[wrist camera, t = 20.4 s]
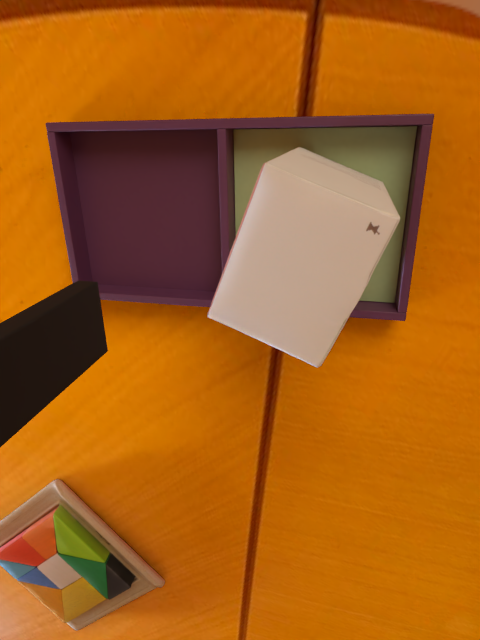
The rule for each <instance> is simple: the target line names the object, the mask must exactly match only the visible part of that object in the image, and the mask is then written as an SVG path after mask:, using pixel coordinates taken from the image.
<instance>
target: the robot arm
mask: <svg viewBox="0 0 480 640" xmlns="http://www.w3.org/2000/svg"><path fill="white" fill-rule="evenodd" d="M107 351H108V350H107V343H106V336H105V330H104V323H103V316H102V309H101V302H100V295H99V288H98V282H93V281H77V282H75V283H73V284H71V285H69V286H67V287H66V288H64V289H62V290H60V291H58V292H56V293H55V294H53V295H51V296H49V297H47V298H45V299H44V300H42V301H40V302H38V303H36V304H35V305H33V306H31V307H29V308H27V309H25V310H24V311H22V312H20V313H18V314H16V315H14V316H13V317H11V318H9V319H7V320H5V321H3V322H2V323H0V447H1V446H2V445H3V444H4V443H6V442H7V441H8V440H9V439H10V438H11V437H12V436H13V435H14V434H16V433H17V432H18V431H19V430H20V429H21V428H22V427H23V426H24V425H26V424H27V423H28V422H29V421H30V420H31V419H32V418H33V417H35V416H36V415H37V414H38V413H39V412H40V411H41V410H42V409H43V408H45V407H46V406H47V405H48V404H49V403H50V402H51V401H52V400H54V399H55V398H56V397H57V396H58V395H59V394H60V393H61V392H62V391H64V390H65V389H66V388H67V387H68V386H69V385H70V384H71V383H72V382H74V381H75V380H76V379H77V378H78V377H79V376H80V375H81V374H83V373H84V372H85V371H86V370H87V369H88V368H89V367H90V366H91V365H93V364H94V363H95V362H96V361H97V360H98V359H99V358H100V357H102V356H103V355H104V354H105V353H106V352H107Z"/></svg>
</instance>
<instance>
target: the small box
mask: <svg viewBox="0 0 480 640" xmlns="http://www.w3.org/2000/svg"><path fill="white" fill-rule="evenodd" d="M399 221H400V216H399V214H398V212H397V210H396V208H395V206H394V204H393V202H392V200H391V198H390V196H389V193H388V191H387V189H386V187H385V185H384V183H383V182H382V181H379V180H377V179H374V178H372V177H370V176H367V175H365V174H363V173H360V172H358V171H355V170H353V169H351V168H348V167H346V166H344V165H341V164H339V163H336V162H334V161H332V160H329V159H327V158H325V157H323V156H320V155H318V154H316V153H313V152H311V151H308V150H306V149H304V148H301V147H298V148H296V149H294V150H291V151H289V152H287V153H285V154H283V155H281V156H278V157H276V158H274V159H272V160H270V161H268V162H265V163H264V164H263V166H262V168H261V170H260V173H259V176H258V178H257V181H256V184H255V186H254V189H253V192H252V194H251V197H250V200H249V202H248V205H247V208H246V210H245V213H244V216H243V218H242V221H241V224H240V227H239V229H238V232H237V235H236V238H235V240H234V243H233V246H232V249H231V251H230V254H229V256H228V259H227V262H226V265H225V268H224V270H223V273H222V276H221V279H220V281H219V284H218V287H217V289H216V292H215V295H214V297H213V300H212V303H211V306H210V309H209V311H208V314H207V316H208V317H209V318H211V319H213V320H216V321H218V322H220V323H222V324H224V325H227V326H229V327H231V328H233V329H236V330H238V331H240V332H242V333H244V334H246V335H249V336H251V337H253V338H255V339H257V340H259V341H261V342H264V343H266V344H268V345H270V346H272V347H274V348H276V349H279V350H281V351H283V352H285V353H287V354H289V355H291V356H294V357H296V358H298V359H300V360H302V361H304V362H306V363H308V364H310V365H313V366H315V367H320V366H321V365H322V364H323V362H324V360H325V358H326V357H327V355H328V353H329V352H330V350H331V348H332V346H333V345H334V343H335V341H336V339H337V337H338V335H339V334H340V332H341V330H342V328H343V327H344V325H345V323H346V321H347V320H348V318H349V316H350V314H351V313H352V311H353V309H354V308H355V306H356V305H357V303H358V301H359V299H360V298H361V296H362V294H363V292H364V290H365V288H366V286H367V285H368V282H369V280H370V278H371V275H372V273H373V271H374V269H375V267H376V265H377V263H378V262H379V260H380V258H381V256H382V254H383V252H384V250H385V248H386V246H387V244H388V243H389V241H390V239H391V237H392V235H393V233H394V231H395V229H396V227H397V225H398V223H399Z"/></svg>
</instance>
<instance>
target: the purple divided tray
mask: <svg viewBox="0 0 480 640" xmlns="http://www.w3.org/2000/svg"><path fill="white" fill-rule="evenodd" d="M433 118H434V114H403V115H360V116H316V117H273V118H230V119H186V120H143V121H99V122H56V123H46V128H47V135H48V140H49V146H50V152H51V158H52V164H53V170H54V175H55V181H56V187H57V193H58V199H59V205H60V210H61V216H62V222H63V228H64V234H65V240H66V246H67V251H68V257H69V263H70V269H71V275H72V281H73V283H75V282H77V281H93V282H98V288H99V295H100V299H102V300H116V301H130V302H144V303H159V304H173V305H187V306H201V307H210V306H211V303H212V300H213V297H214V295H215V292H216V289H217V287H218V284H219V281H220V279H221V276H222V273H223V270H224V268H225V265H226V262H227V259H228V256H229V254H230V251H231V249H232V246H233V243H234V240H235V238H236V235H237V232H238V229H239V227H240V224H241V221H242V218H243V216H244V213H245V210H246V208H247V205H248V202H249V200H250V197H251V194H252V192H253V189H254V186H255V184H256V181H257V178H258V176H259V173H260V170H261V168H262V166H263V164H264V163H265V162H268V161H270V160H272V159H274V158H276V157H278V156H281V155H283V154H285V153H287V152H289V151H291V150H294V149H296V148H298V147H301V148H304V149H306V150H308V151H311V152H313V153H316V154H318V155H320V156H323V157H325V158H327V159H329V160H332V161H334V162H336V163H339V164H341V165H344V166H346V167H348V168H351V169H353V170H355V171H358V172H360V173H363V174H365V175H367V176H370V177H372V178H374V179H377V180H379V181H382V182H383V183H384V185H385V187H386V189H387V191H388V193H389V196H390V198H391V200H392V202H393V204H394V206H395V208H396V210H397V212H398V214H399V216H400V221H399V223H398V225H397V227H396V229H395V231H394V233H393V235H392V237H391V239H390V241H389V243H388V244H387V246H386V248H385V250H384V252H383V254H382V256H381V258H380V260H379V262H378V263H377V265H376V267H375V269H374V271H373V273H372V275H371V278H370V280H369V282H368V285H367V286H366V288H365V290H364V292H363V294H362V296H361V298H360V299H359V301H358V303H357V305H356V306H355V308H354V309H353V311H352V313H351V314H350V316H349V317H357V318H372V319H386V320H400V321H405V319H406V312H407V305H408V298H409V291H410V284H411V276H412V269H413V262H414V255H415V248H416V240H417V233H418V226H419V219H420V212H421V205H422V197H423V190H424V183H425V176H426V169H427V161H428V154H429V147H430V140H431V133H432V124H433Z"/></svg>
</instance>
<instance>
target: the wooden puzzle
mask: <svg viewBox="0 0 480 640" xmlns="http://www.w3.org/2000/svg"><path fill="white" fill-rule="evenodd" d="M0 565H1V566H2V567H3V568H4V569H5V570H6V571H7V572H8V573H9V574H10V575H12V576H13V577H14V578H15V579H17V581H18V582H19V583H20V584H21V585H22V586H24V587H25V588H26V589H27V590H28V591H29V592H30V593H31V594H33V595H34V596H35V597H36V598H37V599H38V600H39V601H40V602H41V603H43V604H44V605H45V606H46V607H47V608H48V609H49V610H50V611H51V612H52V613H54V614H55V615H56V616H57V617H58V618H59V619H60V620H61V621H62V622H64V623H67V624H68V625H69V626H71V627H72V628H73V629H74V630H80V629H82V628H84V627H86V626H88V625H89V624H91V623H93V622H95V621H96V620H98V619H100V618H102V617H104V616H105V615H107V614H109V613H111V612H113V611H115V610H116V609H118V608H120V607H122V606H124V605H125V604H127V603H129V602H131V601H133V600H135V599H136V598H138V597H140V596H142V595H144V594H146V593H148V592H149V591H151V590H153V589H155V588H157V587H160V588H161V587H163V586H164V584H165V580H164V579H163V578H162V577H161V576H160V575H159V574H158V573H157V572H156V571H155V570H154V569H152V568H151V567H150V566H149V565H148V564H147V563H146V562H145V561H144V560H143V559H142V558H141V557H140V556H139V555H138V554H137V553H136V552H135V551H134V550H133V549H132V548H131V547H130V546H129V545H127V544H126V543H125V542H124V541H123V540H122V539H121V538H120V537H119V536H118V535H117V534H116V533H115V532H114V531H113V530H112V529H111V528H110V527H109V526H108V525H107V524H106V523H105V522H104V521H103V520H102V519H101V518H100V517H99V516H98V515H96V514H95V513H94V512H93V511H92V510H91V509H90V508H89V507H88V506H87V505H86V504H85V503H84V502H83V501H82V500H81V499H80V498H79V497H78V496H77V495H76V494H75V493H74V492H73V491H72V490H71V489H70V488H69V487H68V486H67V485H66V484H65V483H64V482H63V481H62V480H60V479H56V480H54V481H52V482H51V483H50V484H48V485H47V486H46V487H45V488H43V489H42V490H41V491H39V492H38V493H37V494H35V495H34V496H33V497H32V498H30V499H29V500H28V501H26V502H25V503H24V504H22V505H21V506H20V507H18V508H17V509H16V510H15V511H13V512H12V513H11V514H9V515H8V516H7V517H5V518H4V519H3V520H1V521H0Z"/></svg>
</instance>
